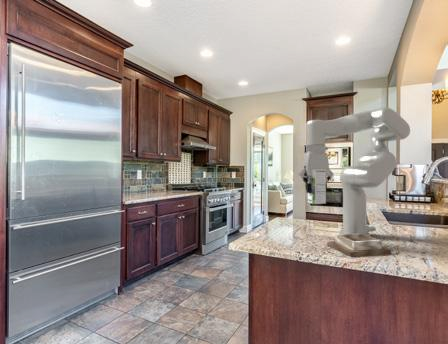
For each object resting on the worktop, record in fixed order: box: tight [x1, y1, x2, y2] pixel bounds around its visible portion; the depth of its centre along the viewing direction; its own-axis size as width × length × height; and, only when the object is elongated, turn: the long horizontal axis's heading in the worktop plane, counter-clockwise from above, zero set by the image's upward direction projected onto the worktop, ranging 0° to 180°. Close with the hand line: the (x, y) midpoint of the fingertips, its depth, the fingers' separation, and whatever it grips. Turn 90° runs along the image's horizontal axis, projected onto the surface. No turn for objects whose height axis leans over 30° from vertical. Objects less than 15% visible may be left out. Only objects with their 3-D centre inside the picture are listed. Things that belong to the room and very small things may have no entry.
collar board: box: [326, 233, 392, 258], centre depth 98 cm, size 16×14×4 cm
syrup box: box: [307, 169, 327, 205], centre depth 110 cm, size 6×6×14 cm
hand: (316, 192), depth 110 cm, fingers closed on syrup box, 6 cm apart
